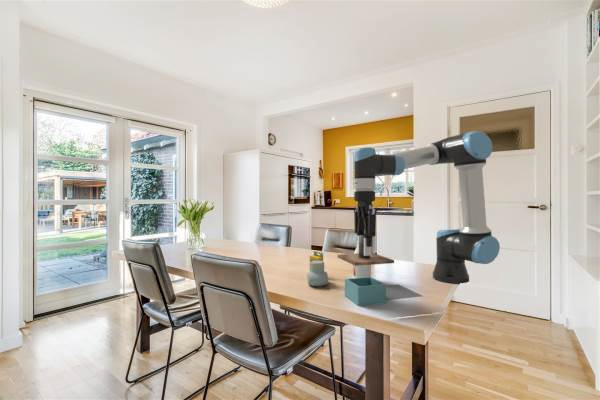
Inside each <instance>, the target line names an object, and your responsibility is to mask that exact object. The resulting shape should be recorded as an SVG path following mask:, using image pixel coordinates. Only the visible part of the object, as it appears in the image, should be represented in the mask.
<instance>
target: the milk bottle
mask: <svg viewBox="0 0 600 400" xmlns="http://www.w3.org/2000/svg"><path fill="white" fill-rule="evenodd" d="M356 242H357V245H356V247H355V250H354V252H353V254H359V253H358V236H357V238H356ZM362 277H372V265H359V266H355V265H353V278H362Z"/></svg>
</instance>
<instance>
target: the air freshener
mask: <svg viewBox="0 0 600 400" xmlns="http://www.w3.org/2000/svg"><path fill="white" fill-rule="evenodd" d="M306 274H307V275H306V276H307V277H306V278H307V284H308V285H310V286H311V287H323V286H326V285H327V284H328V283H329V275H328V272H327V271H325V262H324V260H323V261H312V262H311V271H310V270H309V271H308V272H307V273H306Z"/></svg>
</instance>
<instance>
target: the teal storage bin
mask: <svg viewBox="0 0 600 400" xmlns="http://www.w3.org/2000/svg"><path fill="white" fill-rule="evenodd" d="M386 285H387V284H386V283H384V282H382V281H380V280H378V279H376V278H374V277H372V276H371V277H362V278H354V277H352V278H344V297H345V298H347V299H348V300H349V301H350V302H352V303H353V304H355V305H356V306H357V307H362V306H363V307H364V306H369V305H381V304H386V303H387V300H386Z"/></svg>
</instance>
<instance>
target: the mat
mask: <svg viewBox="0 0 600 400" xmlns="http://www.w3.org/2000/svg"><path fill="white" fill-rule="evenodd" d="M418 297H423V295H422V294H420V293H418V292H415V291H414V290H411V289H409V288H407V287H405V286H403V285H401V284H389V285H387V284H386V301H390V300H391V301H392V300H401V299H410V298H418Z"/></svg>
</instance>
